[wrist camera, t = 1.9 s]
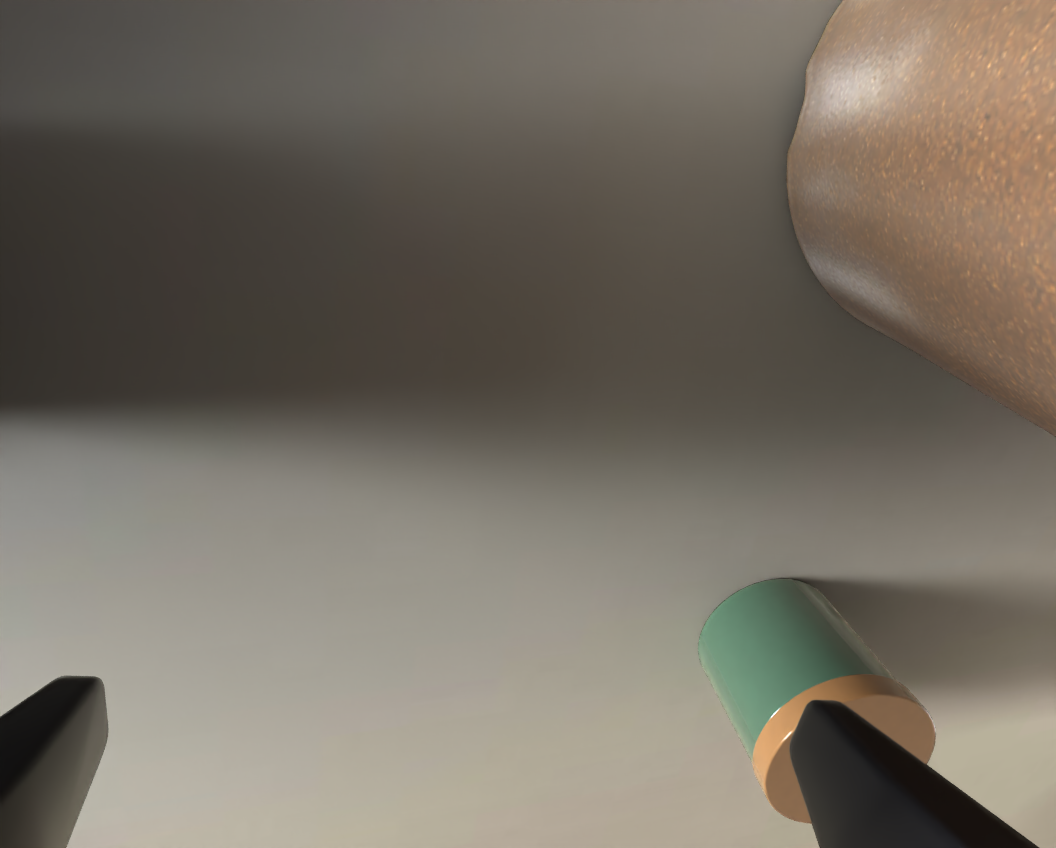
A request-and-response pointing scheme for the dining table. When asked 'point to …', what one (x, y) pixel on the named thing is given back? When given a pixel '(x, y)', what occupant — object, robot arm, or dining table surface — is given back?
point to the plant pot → (938, 185)
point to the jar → (798, 679)
